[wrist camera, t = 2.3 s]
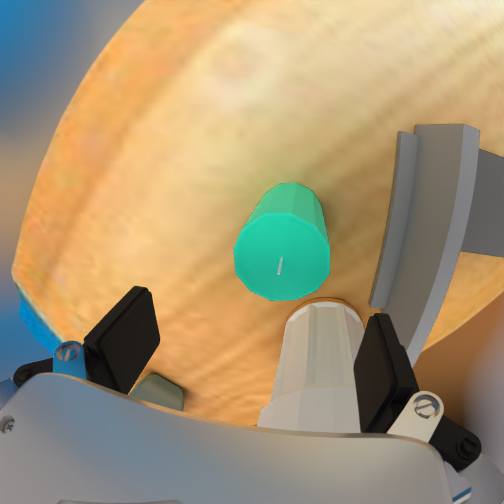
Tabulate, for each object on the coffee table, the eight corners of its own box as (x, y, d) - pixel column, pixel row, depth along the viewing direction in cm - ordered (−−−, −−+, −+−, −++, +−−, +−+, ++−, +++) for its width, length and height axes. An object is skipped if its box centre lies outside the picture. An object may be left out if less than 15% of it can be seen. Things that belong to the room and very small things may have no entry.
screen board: (443, 132, 19) (496, 137, 11) (405, 312, 28) (427, 367, 20) (398, 121, 20) (442, 116, 12) (366, 309, 28) (380, 368, 20)
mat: (524, 167, 18) (528, 168, 17) (505, 255, 22) (509, 258, 21) (458, 142, 19) (462, 142, 19) (441, 245, 24) (444, 248, 23)
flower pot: (148, 360, 39) (122, 401, 31) (196, 388, 40) (177, 432, 32) (138, 382, 43) (116, 418, 35) (179, 407, 44) (162, 444, 36)
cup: (318, 374, 34) (311, 493, 18) (255, 327, 32) (216, 459, 16) (388, 328, 29) (419, 458, 13) (327, 268, 27) (338, 419, 12)
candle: (328, 190, 24) (347, 235, 13) (313, 248, 27) (316, 326, 16) (264, 176, 25) (232, 209, 14) (254, 235, 27) (220, 304, 17)
